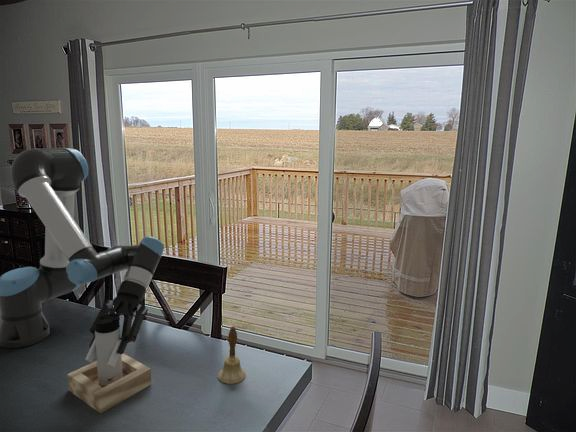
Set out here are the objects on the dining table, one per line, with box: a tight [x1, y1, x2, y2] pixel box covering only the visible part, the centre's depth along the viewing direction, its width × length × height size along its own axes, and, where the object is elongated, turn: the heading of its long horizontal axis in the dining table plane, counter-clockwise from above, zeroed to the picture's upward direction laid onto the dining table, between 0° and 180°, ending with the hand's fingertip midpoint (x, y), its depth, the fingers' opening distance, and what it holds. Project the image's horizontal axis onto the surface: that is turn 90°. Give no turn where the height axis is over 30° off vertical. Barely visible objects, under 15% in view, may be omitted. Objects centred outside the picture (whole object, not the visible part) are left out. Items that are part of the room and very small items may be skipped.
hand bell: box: [217, 326, 246, 385], centre depth 120 cm, size 8×8×16 cm
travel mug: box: [94, 313, 123, 387], centre depth 111 cm, size 6×7×20 cm
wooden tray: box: [67, 352, 152, 415], centre depth 113 cm, size 16×16×5 cm
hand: (99, 363), depth 108 cm, fingers closed on travel mug, 6 cm apart
